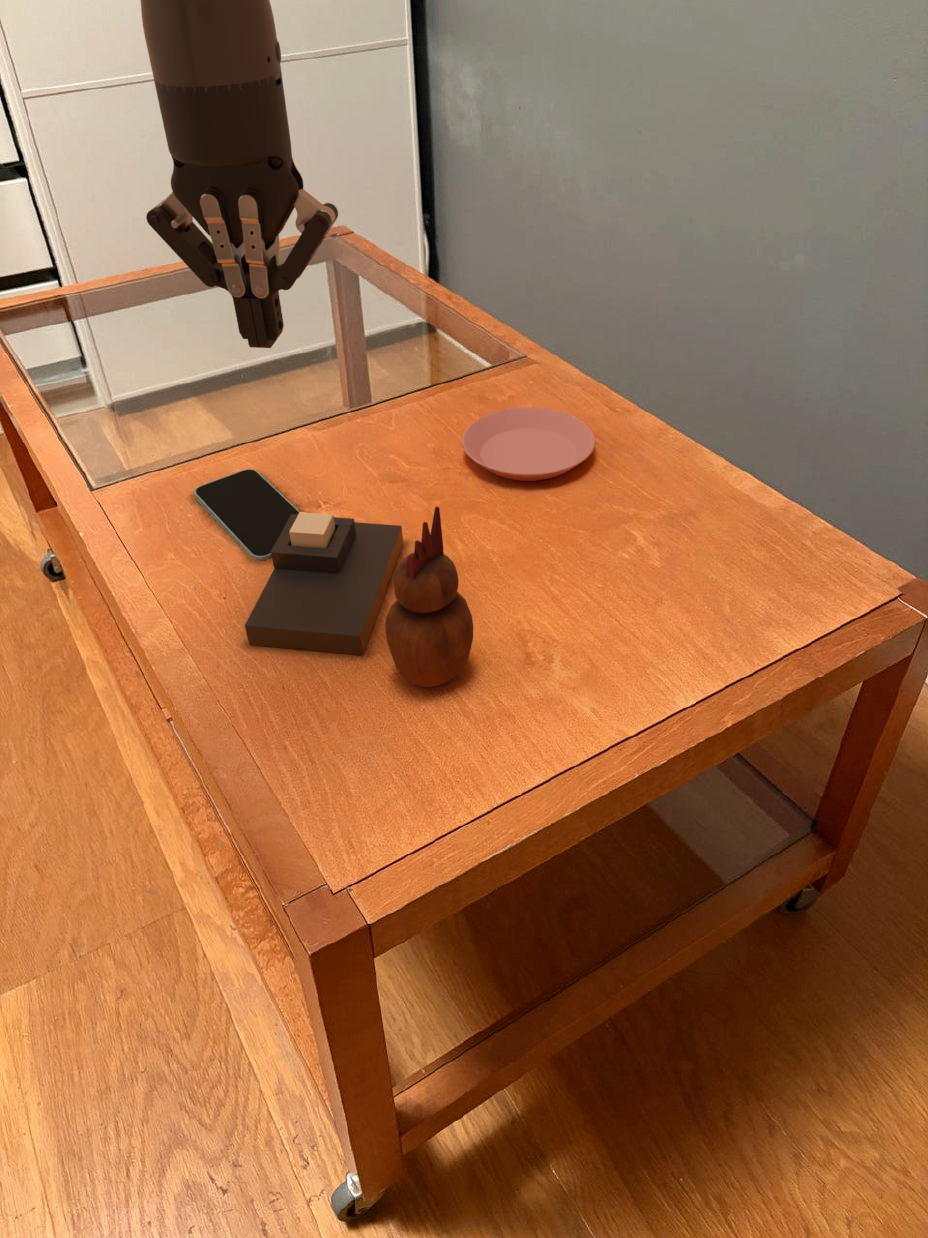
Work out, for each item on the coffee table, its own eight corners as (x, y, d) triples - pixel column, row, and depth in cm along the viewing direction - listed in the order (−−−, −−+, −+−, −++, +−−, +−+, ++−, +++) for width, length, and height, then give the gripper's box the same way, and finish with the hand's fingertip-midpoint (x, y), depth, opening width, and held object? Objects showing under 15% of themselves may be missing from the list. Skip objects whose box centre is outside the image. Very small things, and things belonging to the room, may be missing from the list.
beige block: (291, 547, 85) (288, 531, 84) (302, 527, 87) (299, 511, 86) (326, 550, 85) (323, 534, 83) (335, 529, 87) (333, 514, 86)
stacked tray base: (248, 644, 81) (239, 608, 78) (303, 536, 93) (297, 502, 90) (362, 655, 79) (357, 619, 77) (403, 544, 91) (400, 509, 89)
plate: (608, 483, 98) (609, 466, 97) (472, 496, 97) (471, 479, 96) (577, 417, 109) (578, 402, 108) (455, 428, 108) (454, 412, 107)
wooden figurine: (447, 636, 81) (440, 486, 71) (486, 675, 77) (483, 522, 67) (378, 668, 78) (360, 516, 68) (414, 709, 74) (401, 555, 64)
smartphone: (256, 560, 89) (189, 489, 98) (257, 569, 90) (192, 497, 99) (322, 532, 92) (252, 466, 101) (324, 541, 93) (254, 474, 102)
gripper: (84, 79, 54) (156, 362, 66) (305, 80, 53) (340, 371, 64) (139, 54, 60) (196, 318, 71) (340, 54, 58) (367, 325, 69)
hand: (264, 343), depth 68 cm, fingers closed
